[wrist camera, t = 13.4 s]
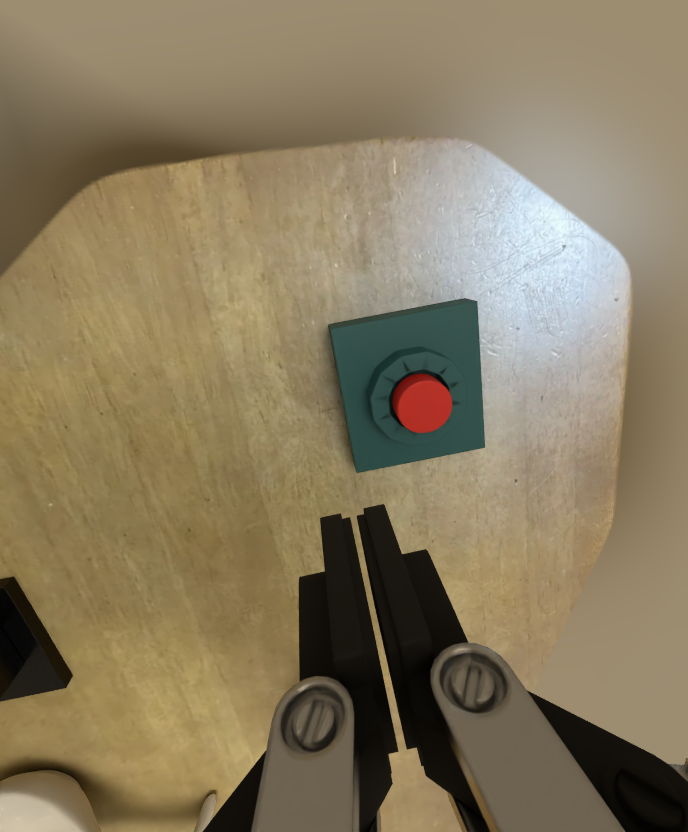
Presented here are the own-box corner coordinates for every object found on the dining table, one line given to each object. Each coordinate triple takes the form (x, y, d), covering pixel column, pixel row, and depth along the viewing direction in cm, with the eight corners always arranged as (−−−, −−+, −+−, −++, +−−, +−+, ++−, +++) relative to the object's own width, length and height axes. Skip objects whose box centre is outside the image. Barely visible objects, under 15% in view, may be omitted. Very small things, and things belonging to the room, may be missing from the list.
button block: (328, 324, 29) (331, 333, 26) (465, 298, 30) (488, 303, 26) (353, 460, 33) (359, 485, 30) (474, 436, 34) (495, 458, 30)
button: (388, 378, 27) (393, 386, 26) (441, 368, 27) (450, 375, 26) (395, 428, 29) (401, 438, 27) (446, 418, 29) (454, 427, 27)
